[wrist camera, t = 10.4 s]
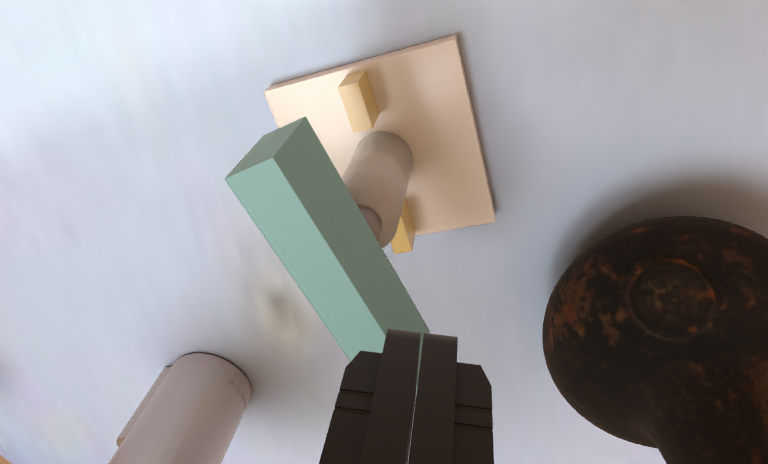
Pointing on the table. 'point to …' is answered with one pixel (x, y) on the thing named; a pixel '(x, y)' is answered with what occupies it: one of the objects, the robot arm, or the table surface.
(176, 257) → the table surface
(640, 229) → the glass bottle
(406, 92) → the post base
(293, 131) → the pale green block
